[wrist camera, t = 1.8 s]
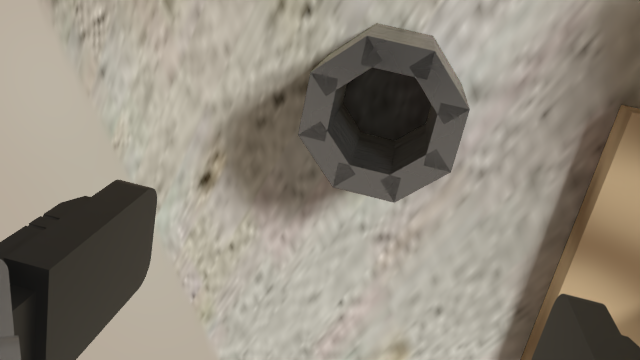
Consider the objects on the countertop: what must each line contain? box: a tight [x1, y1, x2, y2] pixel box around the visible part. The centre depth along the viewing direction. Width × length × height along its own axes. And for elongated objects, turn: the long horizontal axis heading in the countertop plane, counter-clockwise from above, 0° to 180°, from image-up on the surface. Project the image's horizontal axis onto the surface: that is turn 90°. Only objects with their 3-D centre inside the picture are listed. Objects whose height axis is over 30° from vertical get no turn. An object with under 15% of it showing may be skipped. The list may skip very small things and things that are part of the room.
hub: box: [298, 24, 470, 203], centre depth 26 cm, size 6×6×5 cm
